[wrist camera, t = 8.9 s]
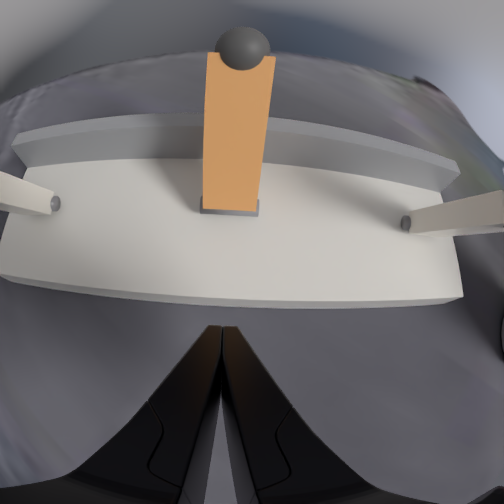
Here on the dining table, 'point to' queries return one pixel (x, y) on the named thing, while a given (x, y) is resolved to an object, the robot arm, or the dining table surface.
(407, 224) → the cream lever
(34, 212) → the cream lever
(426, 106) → the dining table surface
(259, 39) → the lever orange
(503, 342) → the soda can
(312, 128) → the switch panel
